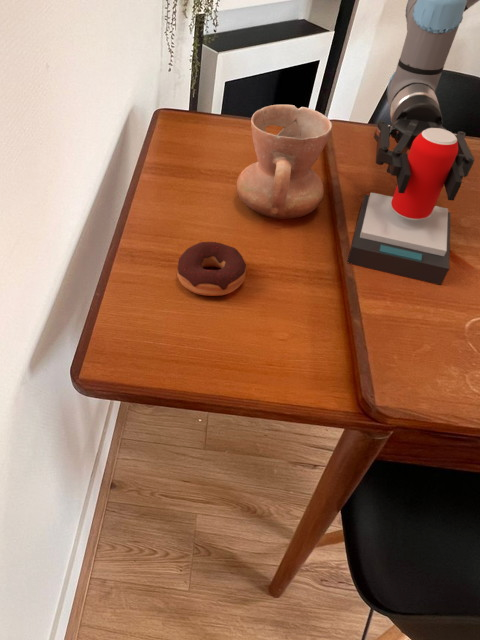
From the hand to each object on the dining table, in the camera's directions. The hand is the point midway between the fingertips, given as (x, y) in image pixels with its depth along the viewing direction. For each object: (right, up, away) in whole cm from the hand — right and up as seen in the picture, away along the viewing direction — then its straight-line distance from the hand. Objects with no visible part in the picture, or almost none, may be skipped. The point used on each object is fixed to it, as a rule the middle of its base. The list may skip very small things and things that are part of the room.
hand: (429, 187), depth 72 cm
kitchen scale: (0, -5, +12) cm, 13 cm away
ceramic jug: (-18, +3, +18) cm, 26 cm away
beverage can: (+1, -1, +9) cm, 9 cm away
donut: (-30, -12, +4) cm, 33 cm away
